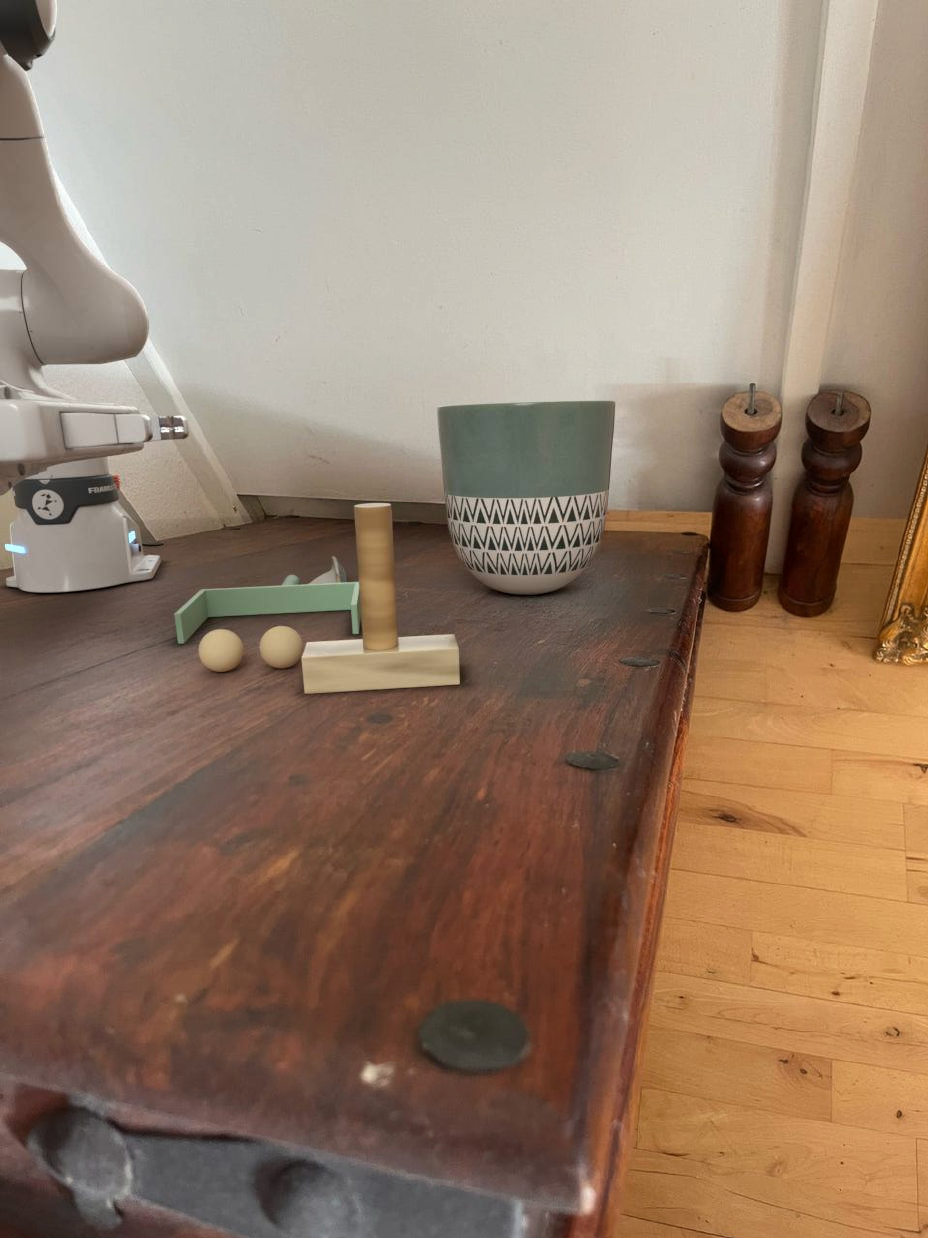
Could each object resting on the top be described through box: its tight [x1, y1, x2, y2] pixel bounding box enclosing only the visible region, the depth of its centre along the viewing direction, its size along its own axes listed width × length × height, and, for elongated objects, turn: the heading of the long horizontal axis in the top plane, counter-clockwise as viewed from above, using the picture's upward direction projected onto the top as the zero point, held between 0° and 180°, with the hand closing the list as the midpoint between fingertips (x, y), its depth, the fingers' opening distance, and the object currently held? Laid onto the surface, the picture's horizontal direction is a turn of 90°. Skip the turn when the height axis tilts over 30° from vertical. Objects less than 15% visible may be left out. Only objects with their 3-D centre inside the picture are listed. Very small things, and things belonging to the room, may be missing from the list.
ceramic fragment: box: [308, 555, 348, 584], centre depth 92 cm, size 14×5×4 cm, turn 12°
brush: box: [300, 502, 461, 695], centre depth 58 cm, size 4×12×14 cm, turn 96°
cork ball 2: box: [259, 625, 304, 669], centre depth 63 cm, size 4×4×4 cm
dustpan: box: [173, 574, 361, 645], centre depth 81 cm, size 20×17×3 cm
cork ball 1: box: [197, 628, 244, 673], centre depth 63 cm, size 4×4×4 cm
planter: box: [436, 400, 616, 596], centre depth 86 cm, size 20×20×21 cm
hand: (169, 427), depth 53 cm, fingers open, 8 cm apart
